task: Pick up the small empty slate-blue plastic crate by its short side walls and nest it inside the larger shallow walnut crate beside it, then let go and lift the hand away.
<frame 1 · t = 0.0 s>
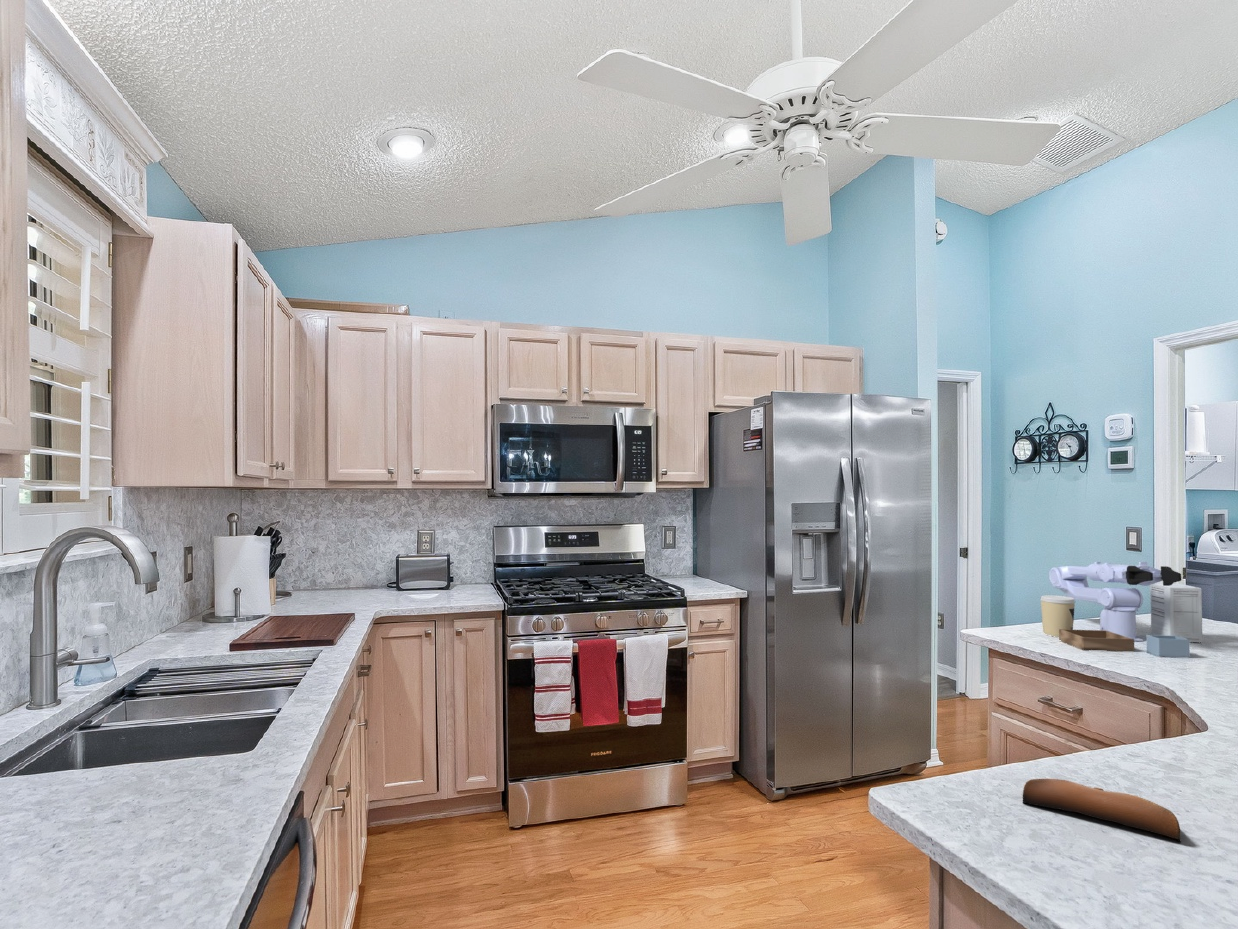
hand: (1165, 576, 194), 22 cm above the worktop, tool horizontal, fingers open, 7 cm apart
walnut crate: (1095, 646, 202), on the worktop
slate crate: (1167, 655, 192), on the worktop
coffee cup: (1057, 636, 216), on the worktop
sunglasses case: (1097, 817, 97), on the worktop
supplement box: (1176, 640, 213), on the worktop
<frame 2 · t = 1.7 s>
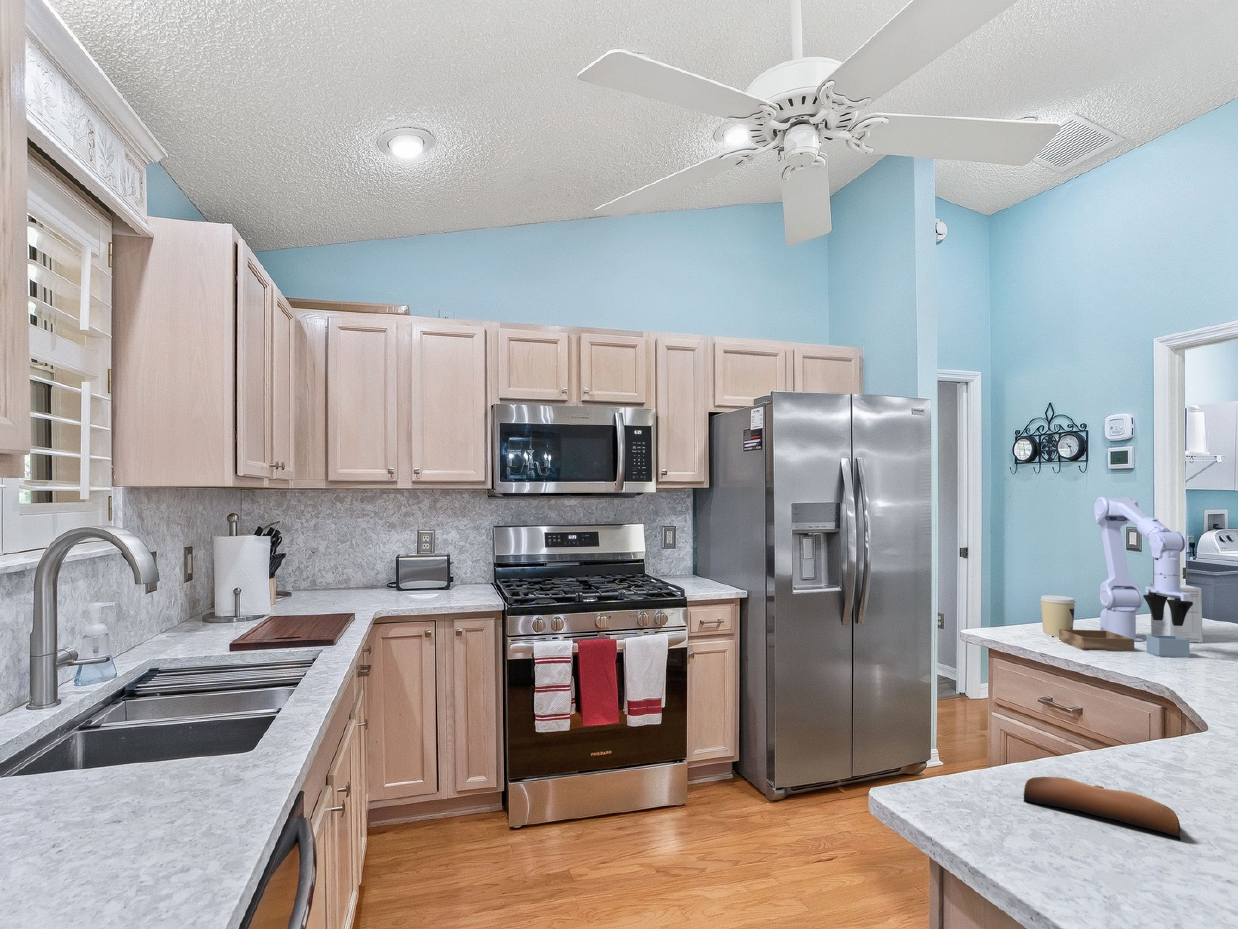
hand: (1167, 623, 192), 9 cm above the worktop, tool pointing down, fingers open, 7 cm apart
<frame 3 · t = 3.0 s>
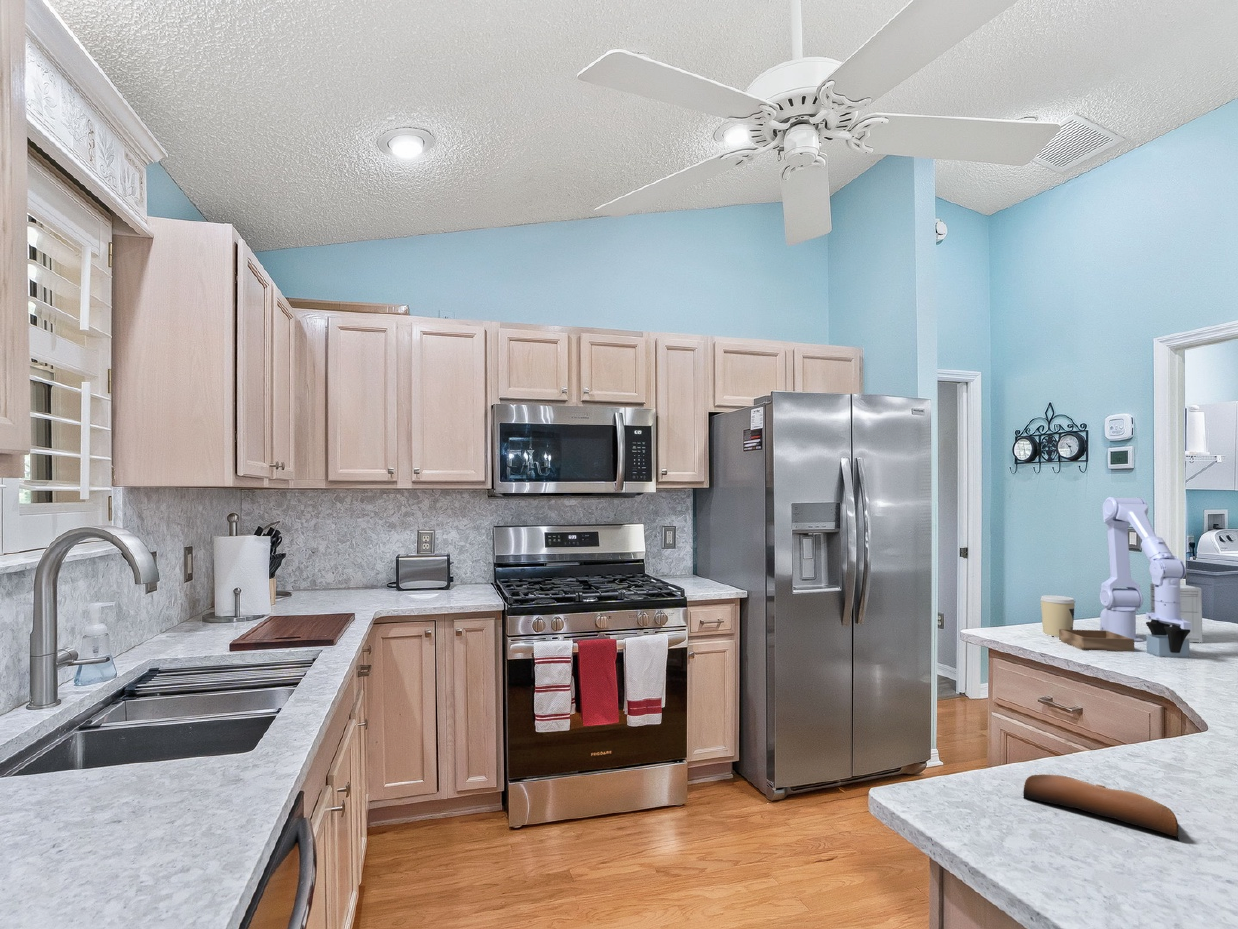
hand: (1167, 650, 192), 1 cm above the worktop, tool pointing down, fingers closed on slate crate, 5 cm apart
slate crate: (1167, 655, 192), on the worktop, touching gripper
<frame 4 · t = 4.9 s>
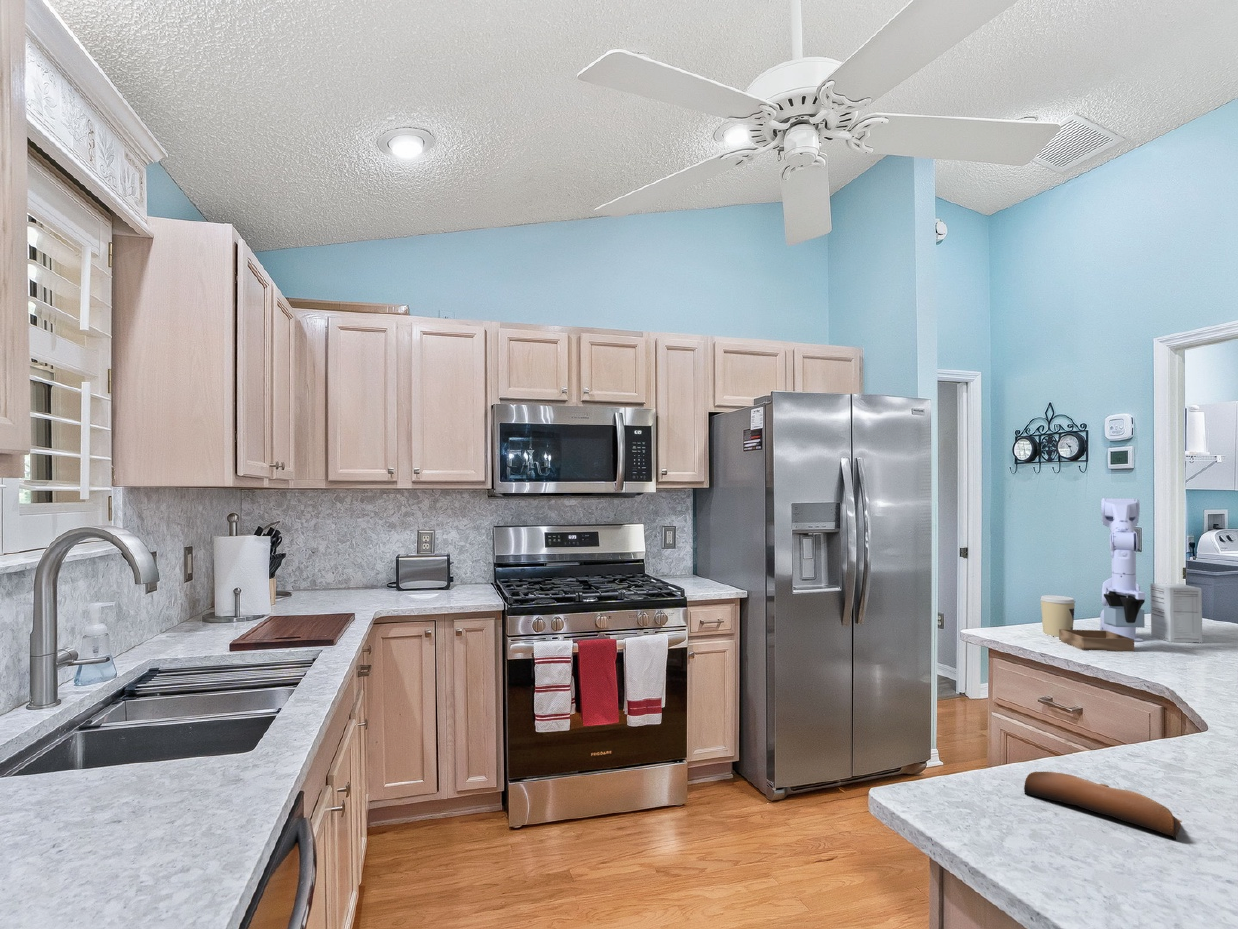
hand: (1123, 620, 198), 8 cm above the worktop, tool pointing down, fingers closed on slate crate, 5 cm apart
slate crate: (1124, 625, 198), point 7 cm above the worktop, touching gripper
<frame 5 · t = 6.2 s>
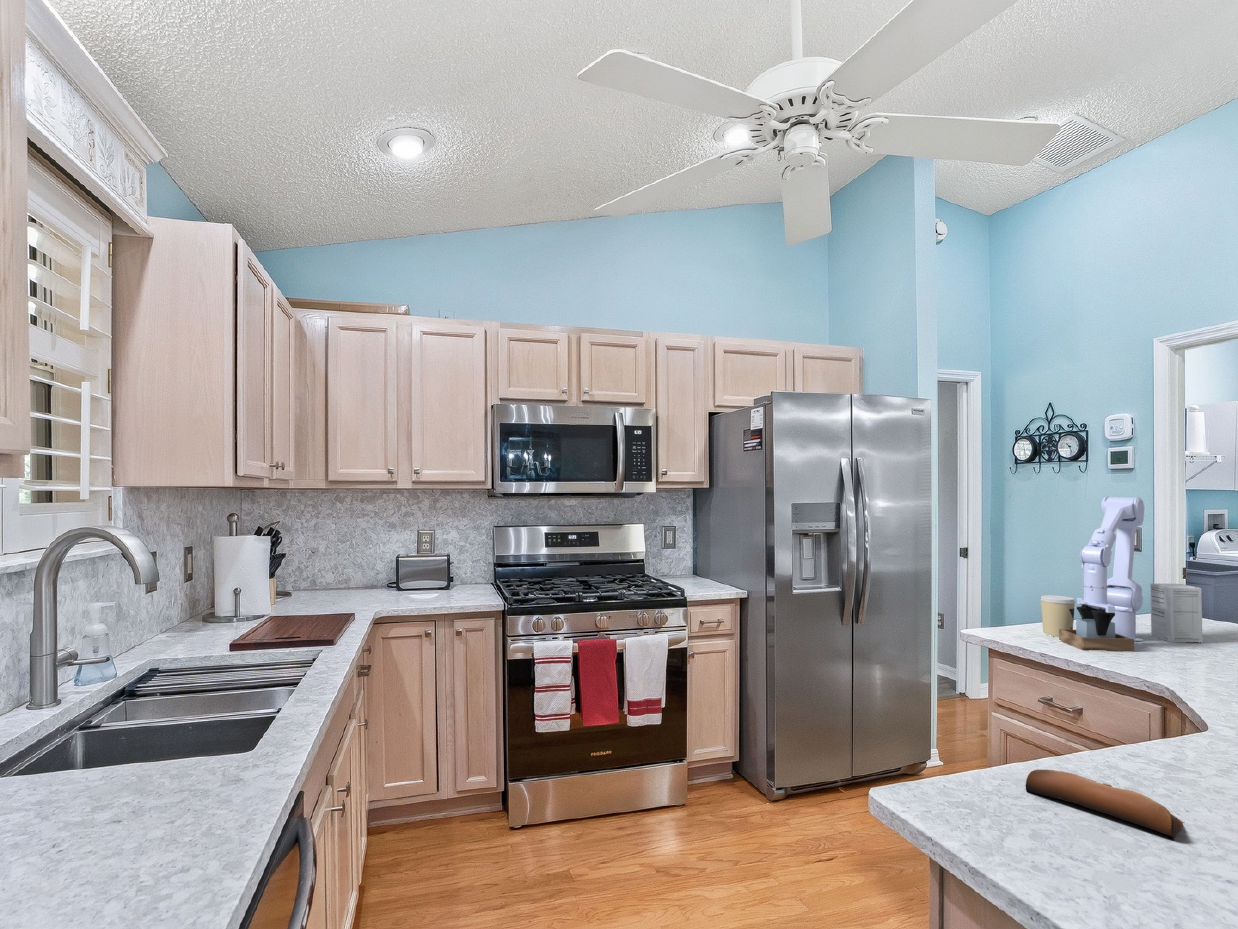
hand: (1095, 633, 202), 4 cm above the worktop, tool pointing down, fingers closed on slate crate, 5 cm apart
slate crate: (1095, 638, 202), point 2 cm above the worktop, touching gripper
when the fingers open (3 cm above the worktop, at t = 7.2 s): slate crate drops 1 cm, resting on walnut crate.
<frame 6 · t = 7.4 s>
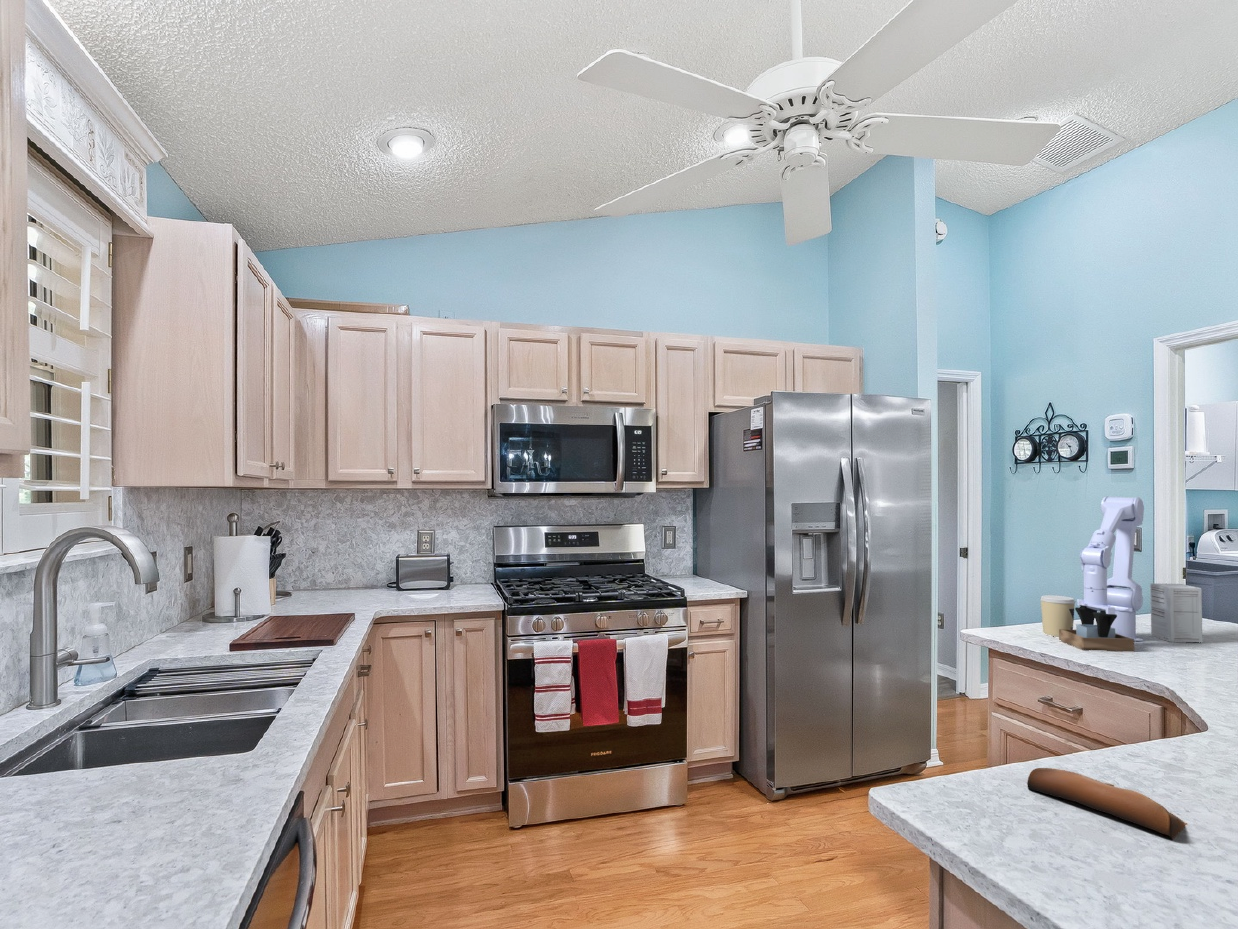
hand: (1095, 634, 202), 3 cm above the worktop, tool pointing down, fingers open, 6 cm apart
slate crate: (1095, 643, 202), point 1 cm above the worktop, touching walnut crate
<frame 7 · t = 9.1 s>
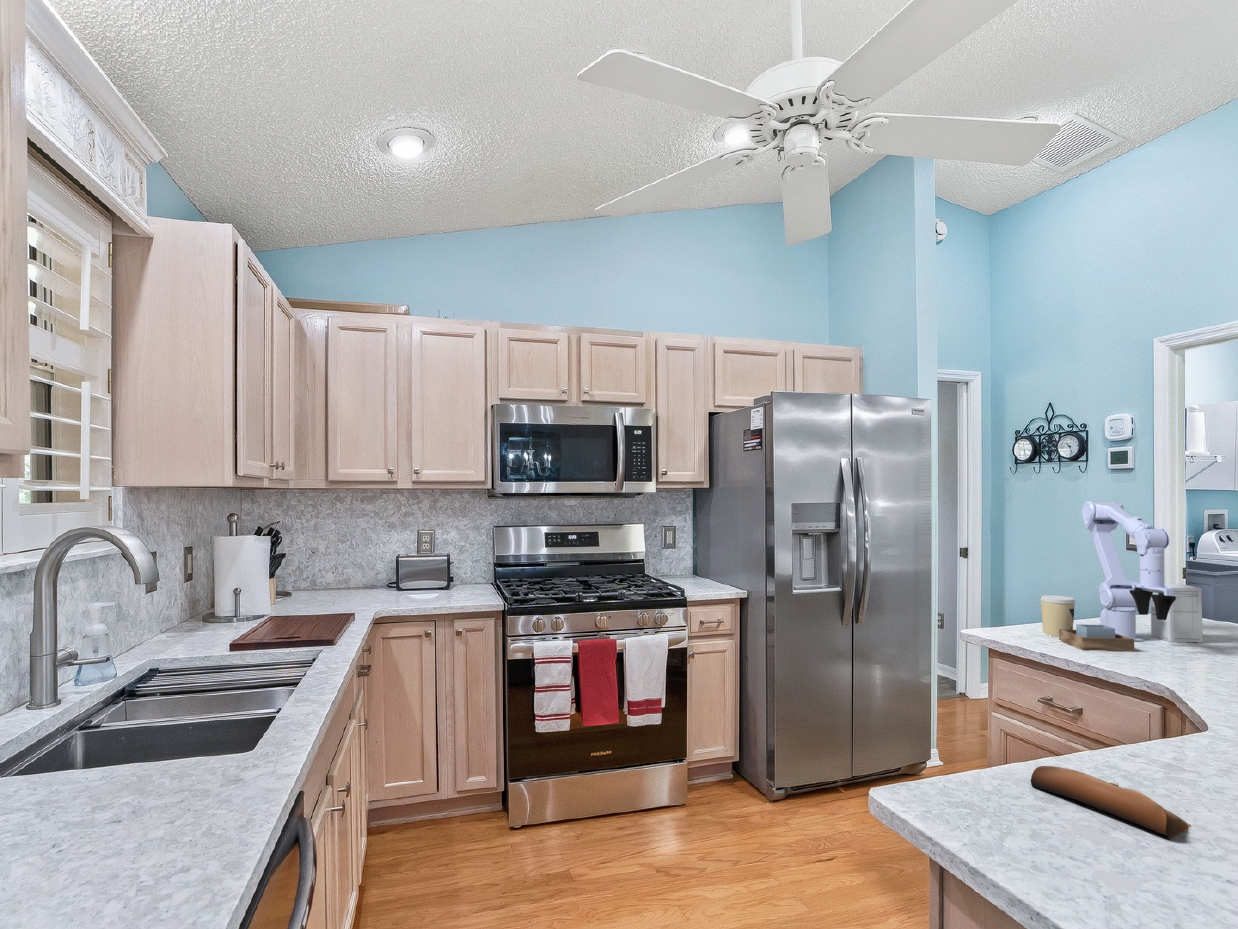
hand: (1152, 617, 199), 9 cm above the worktop, tool pointing down, fingers open, 7 cm apart
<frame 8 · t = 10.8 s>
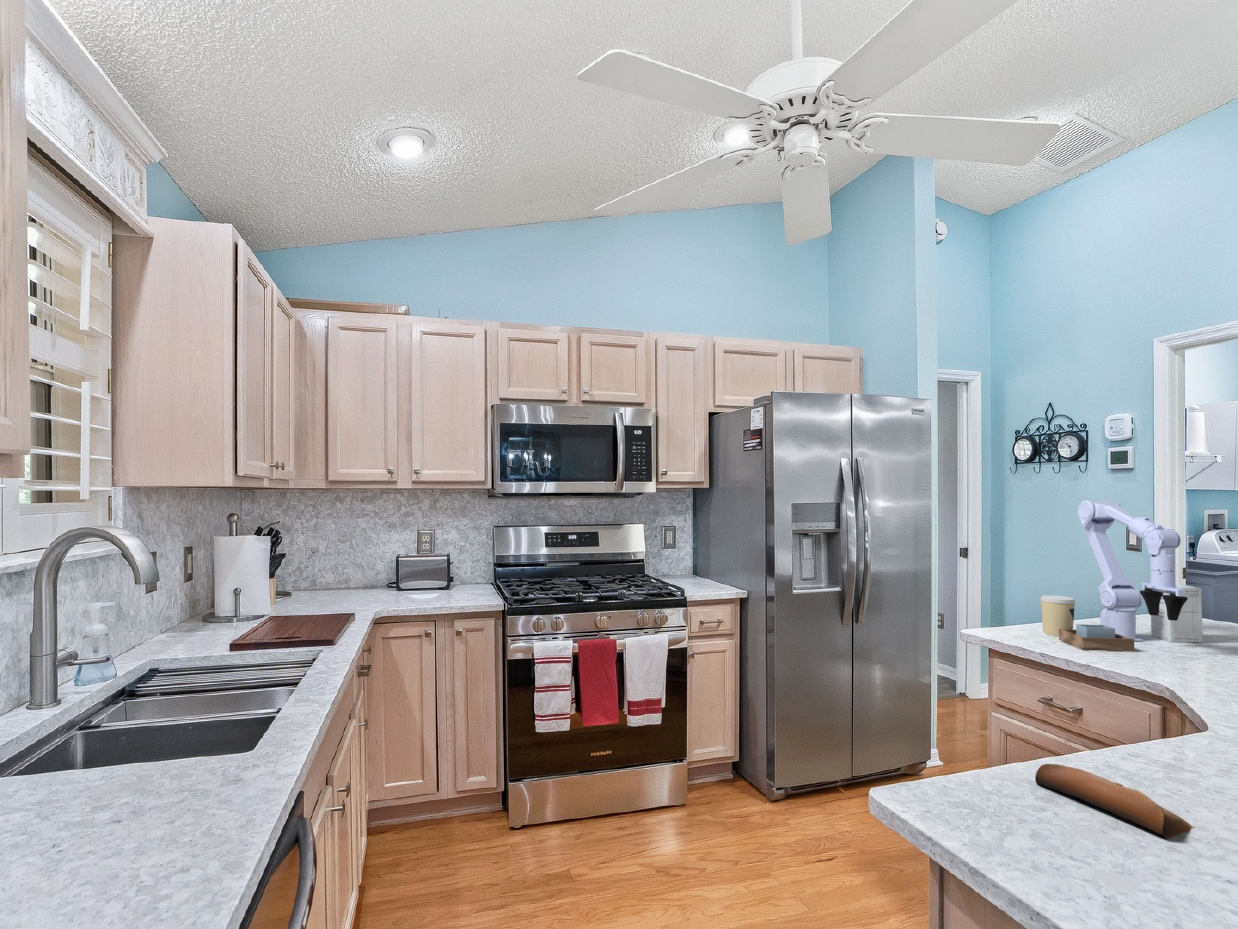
hand: (1163, 617, 198), 9 cm above the worktop, tool pointing down, fingers open, 7 cm apart
at the end: slate crate 0.0 cm off-centre on the walnut crate, point 0.8 cm above the walnut crate's base; slate crate tilted 0°; the gripper is holding nothing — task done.
